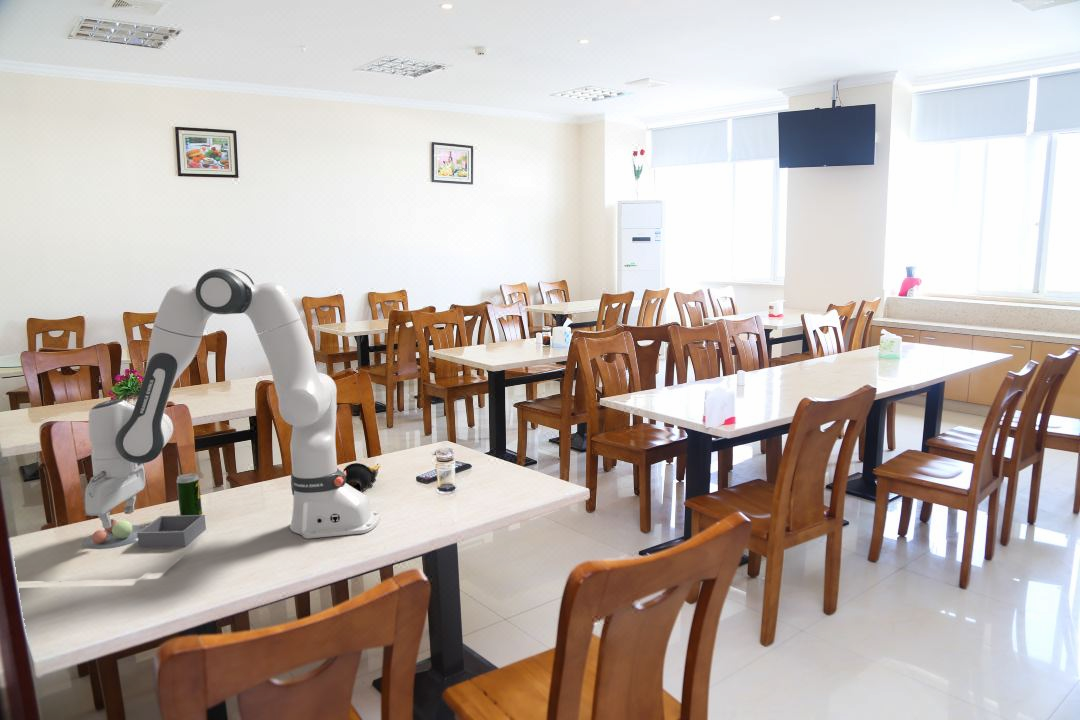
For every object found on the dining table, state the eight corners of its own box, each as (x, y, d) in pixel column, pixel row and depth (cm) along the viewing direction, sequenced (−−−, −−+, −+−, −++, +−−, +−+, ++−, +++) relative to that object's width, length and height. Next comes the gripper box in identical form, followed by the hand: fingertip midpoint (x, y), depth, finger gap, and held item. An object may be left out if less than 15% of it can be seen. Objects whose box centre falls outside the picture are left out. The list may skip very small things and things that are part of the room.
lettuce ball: (136, 534, 190) (134, 517, 189) (127, 541, 185) (125, 524, 185) (119, 534, 190) (117, 518, 189) (109, 541, 185) (107, 524, 185)
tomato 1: (110, 540, 186) (108, 528, 186) (103, 545, 183) (101, 533, 182) (97, 540, 186) (96, 528, 186) (89, 546, 183) (88, 533, 182)
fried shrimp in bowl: (332, 481, 217) (345, 445, 232) (352, 508, 221) (364, 472, 237) (360, 470, 215) (372, 434, 231) (379, 498, 220) (390, 461, 235)
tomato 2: (122, 529, 193) (120, 517, 192) (115, 534, 190) (113, 522, 189) (109, 529, 193) (108, 518, 192) (102, 534, 190) (100, 522, 189)
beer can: (182, 524, 199) (177, 480, 197) (179, 518, 203) (174, 475, 201) (204, 520, 202) (199, 476, 200) (200, 514, 206) (196, 471, 204)
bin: (206, 533, 192) (204, 514, 191) (185, 551, 181) (183, 532, 180) (162, 534, 192) (160, 515, 191) (139, 552, 181) (137, 533, 180)
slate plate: (162, 528, 196) (162, 524, 196) (131, 552, 181) (131, 548, 181) (105, 530, 196) (104, 525, 196) (69, 554, 181) (69, 549, 181)
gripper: (101, 479, 174) (107, 536, 176) (147, 454, 194) (152, 505, 197) (74, 479, 174) (80, 536, 176) (123, 454, 194) (128, 505, 197)
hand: (119, 519), depth 187 cm, fingers open, 8 cm apart
